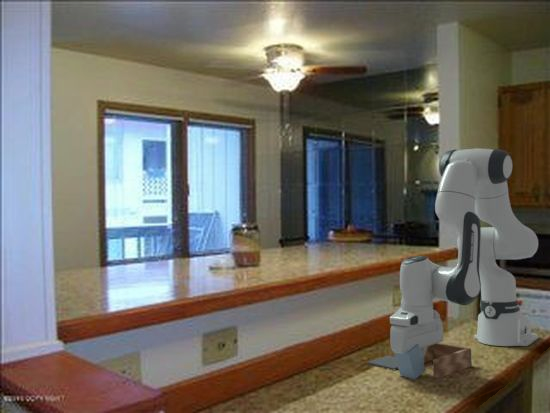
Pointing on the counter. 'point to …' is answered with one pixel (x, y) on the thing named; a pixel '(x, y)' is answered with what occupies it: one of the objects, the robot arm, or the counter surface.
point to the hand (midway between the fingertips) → (419, 363)
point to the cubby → (447, 358)
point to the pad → (385, 362)
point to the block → (410, 363)
